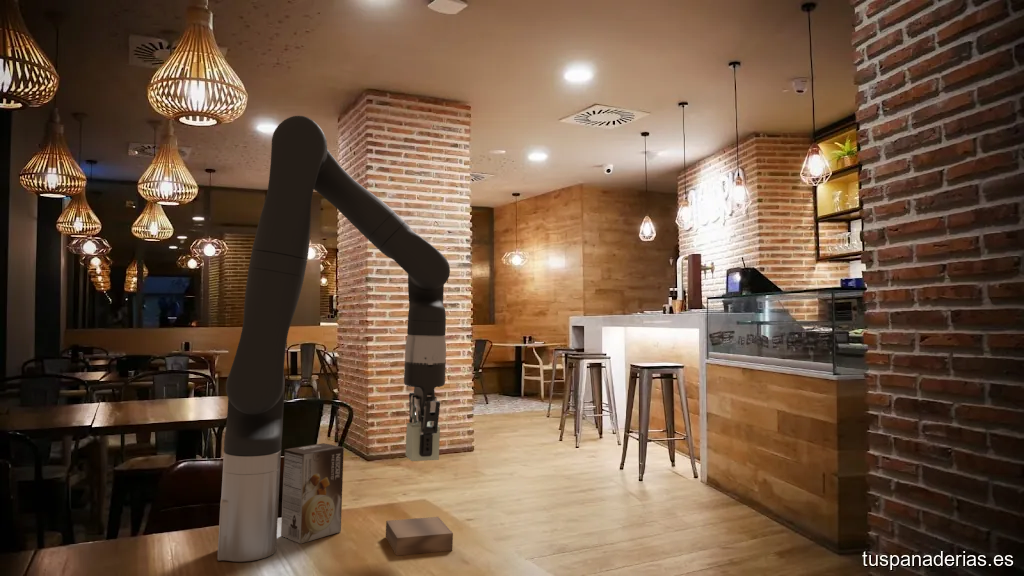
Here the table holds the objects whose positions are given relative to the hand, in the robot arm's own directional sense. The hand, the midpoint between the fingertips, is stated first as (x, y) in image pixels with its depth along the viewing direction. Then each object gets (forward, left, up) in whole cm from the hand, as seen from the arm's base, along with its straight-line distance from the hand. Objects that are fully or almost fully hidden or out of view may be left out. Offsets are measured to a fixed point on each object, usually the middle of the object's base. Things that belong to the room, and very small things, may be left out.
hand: (421, 452), depth 123 cm
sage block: (0, 0, -1) cm, 1 cm away
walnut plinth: (0, 0, -16) cm, 16 cm away
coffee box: (-18, +10, -17) cm, 26 cm away
